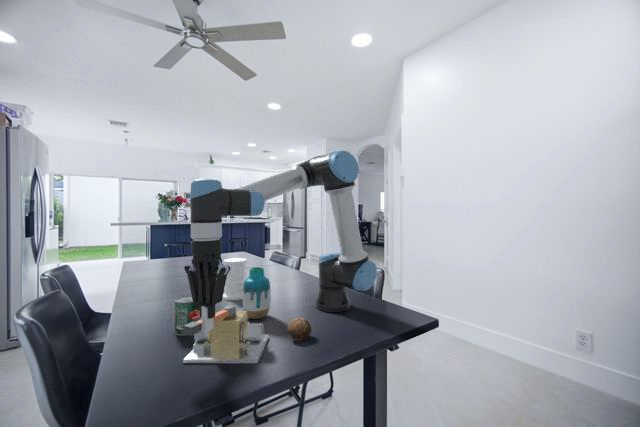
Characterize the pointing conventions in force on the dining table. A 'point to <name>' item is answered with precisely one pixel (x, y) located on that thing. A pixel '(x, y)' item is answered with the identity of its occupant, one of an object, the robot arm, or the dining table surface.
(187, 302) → the canned tomato
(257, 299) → the vase
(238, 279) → the decorative container
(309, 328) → the brown round lump
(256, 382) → the dining table surface
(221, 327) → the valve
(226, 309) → the lever
